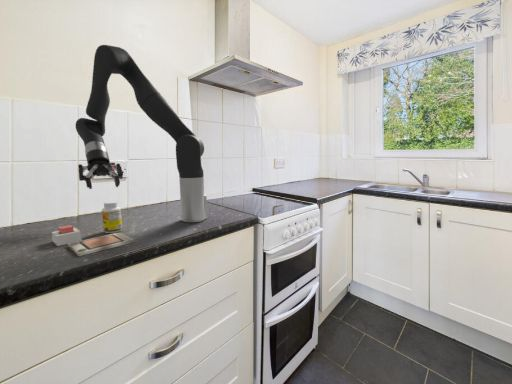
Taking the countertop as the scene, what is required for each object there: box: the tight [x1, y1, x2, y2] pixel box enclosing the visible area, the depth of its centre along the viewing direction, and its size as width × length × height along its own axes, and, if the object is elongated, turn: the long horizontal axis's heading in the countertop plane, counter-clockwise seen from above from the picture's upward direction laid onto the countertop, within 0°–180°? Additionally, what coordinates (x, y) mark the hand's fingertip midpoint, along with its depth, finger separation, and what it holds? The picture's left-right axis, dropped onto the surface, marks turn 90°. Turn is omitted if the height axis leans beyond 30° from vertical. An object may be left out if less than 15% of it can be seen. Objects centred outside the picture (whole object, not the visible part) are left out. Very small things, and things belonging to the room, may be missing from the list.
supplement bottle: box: [101, 200, 123, 234], centre depth 86 cm, size 6×6×10 cm
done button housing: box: [51, 227, 83, 247], centre depth 77 cm, size 6×6×3 cm
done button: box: [57, 224, 74, 234], centre depth 76 cm, size 3×3×2 cm
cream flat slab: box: [67, 231, 135, 257], centre depth 74 cm, size 14×11×1 cm
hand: (104, 186), depth 93 cm, fingers open, 8 cm apart
